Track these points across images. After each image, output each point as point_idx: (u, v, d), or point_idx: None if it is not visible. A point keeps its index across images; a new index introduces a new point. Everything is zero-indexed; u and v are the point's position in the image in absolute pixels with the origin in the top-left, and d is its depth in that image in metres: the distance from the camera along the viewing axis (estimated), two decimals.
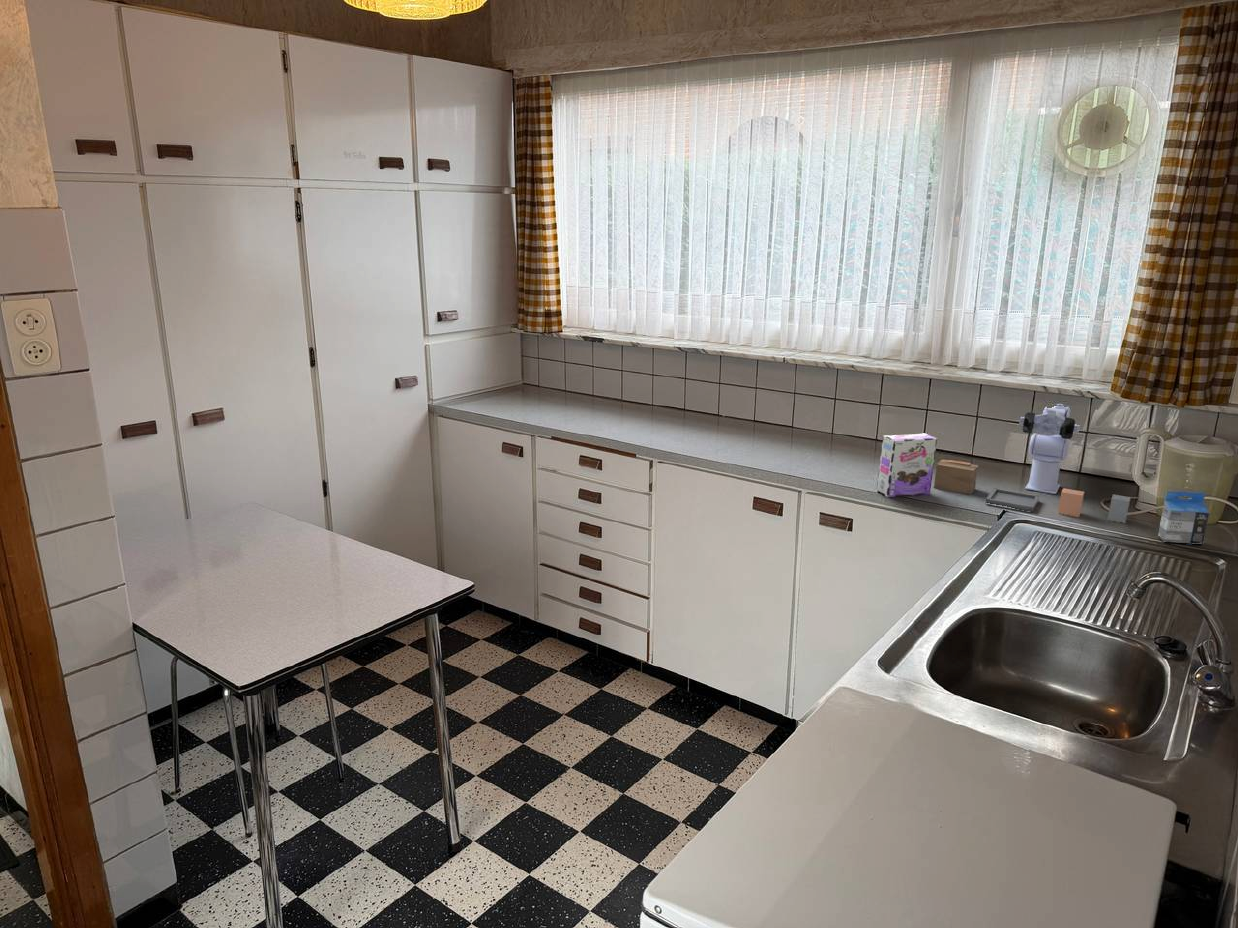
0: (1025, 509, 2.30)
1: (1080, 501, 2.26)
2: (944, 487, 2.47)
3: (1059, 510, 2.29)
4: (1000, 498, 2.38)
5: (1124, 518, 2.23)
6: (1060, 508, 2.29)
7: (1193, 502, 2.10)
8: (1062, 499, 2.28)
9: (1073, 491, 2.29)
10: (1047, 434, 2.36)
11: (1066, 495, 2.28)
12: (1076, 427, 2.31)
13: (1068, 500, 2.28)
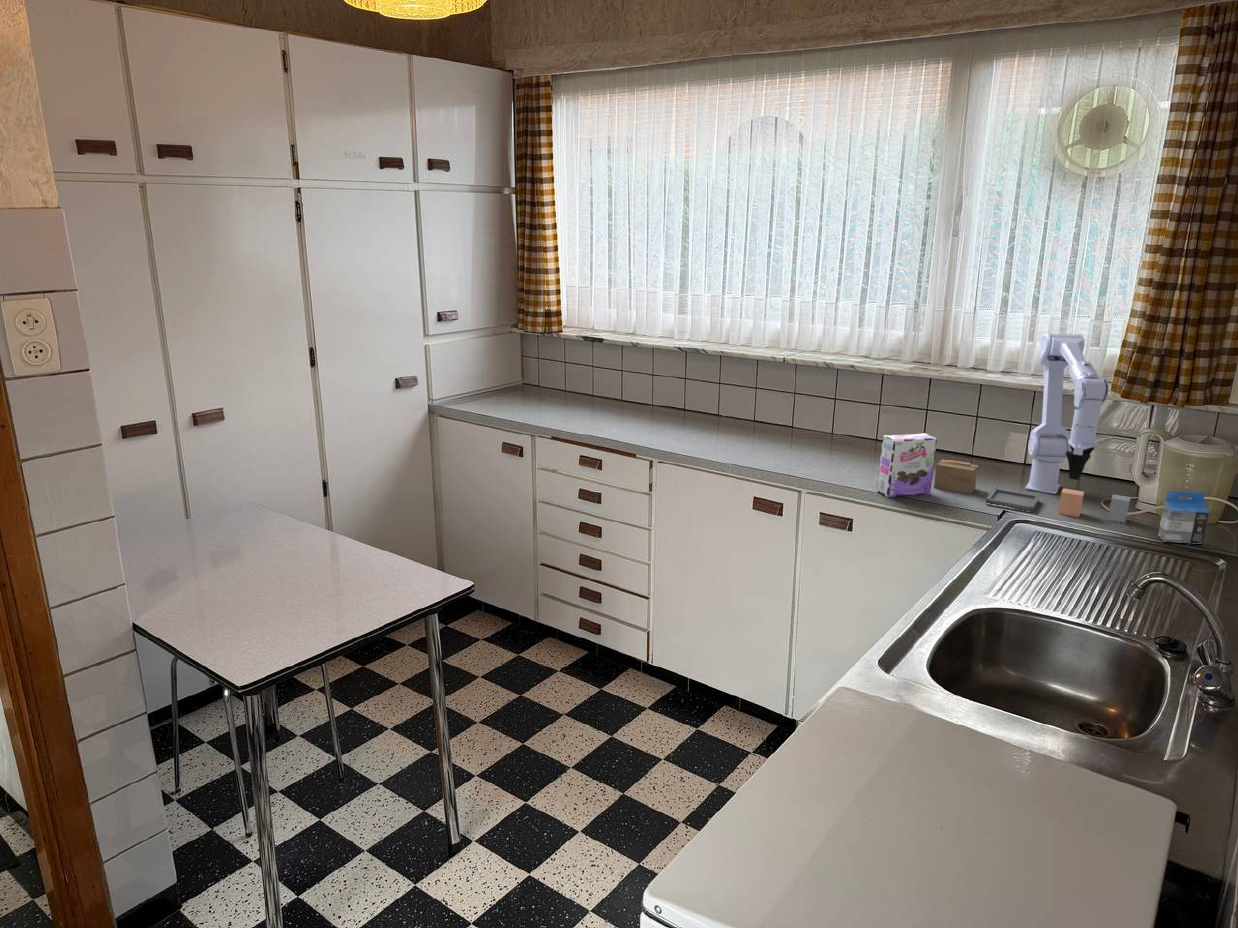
0: (1025, 509, 2.30)
1: (1080, 501, 2.26)
2: (944, 487, 2.47)
3: (1059, 510, 2.29)
4: (1000, 498, 2.38)
5: (1124, 518, 2.23)
6: (1060, 508, 2.29)
7: (1193, 502, 2.10)
8: (1062, 499, 2.28)
9: (1073, 491, 2.29)
10: None
11: (1066, 495, 2.28)
12: None
13: (1068, 500, 2.28)
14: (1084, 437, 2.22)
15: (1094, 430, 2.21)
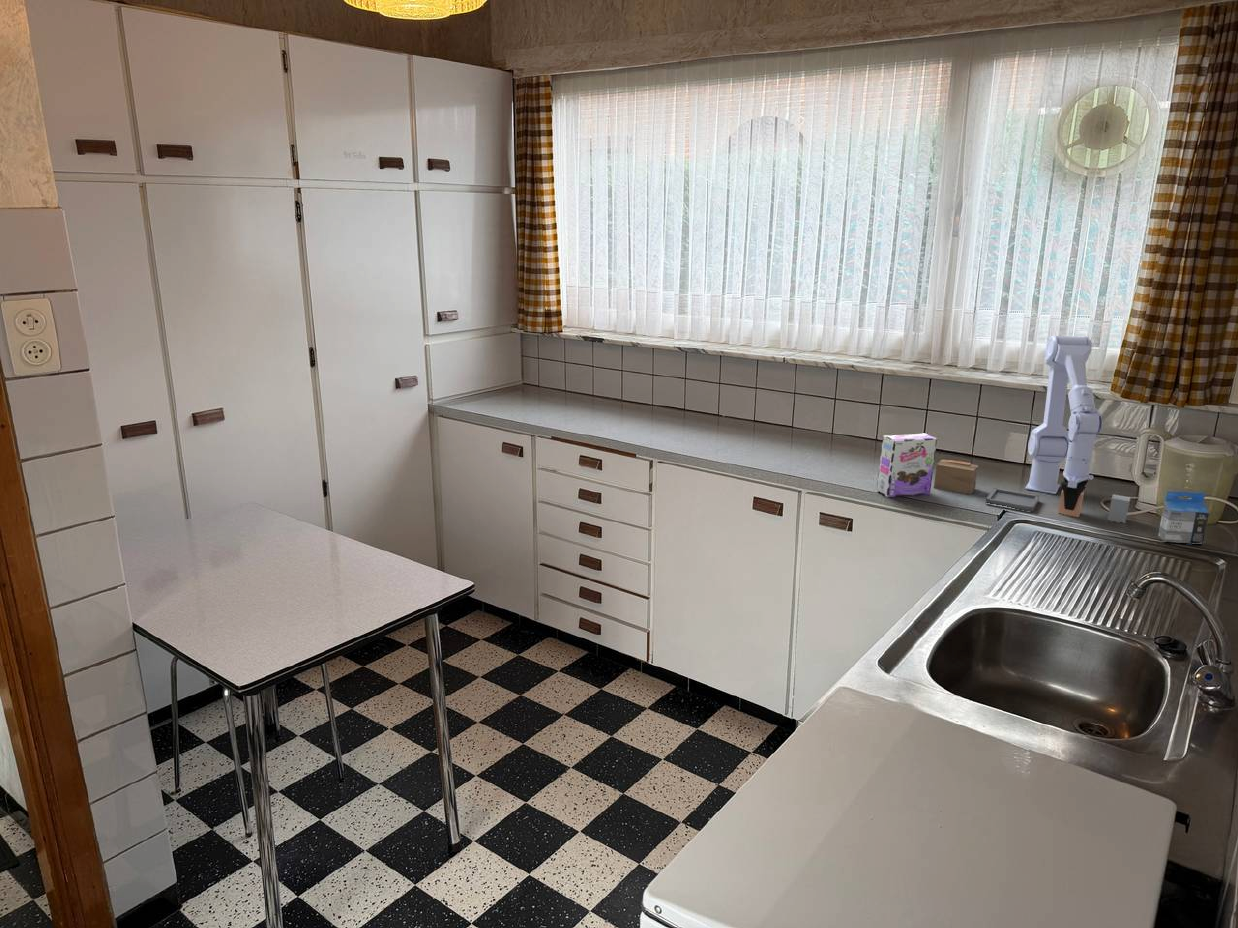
0: (1025, 509, 2.30)
1: (1080, 501, 2.26)
2: (944, 487, 2.47)
3: (1059, 510, 2.29)
4: (1000, 498, 2.38)
5: (1124, 518, 2.23)
6: (1060, 508, 2.29)
7: (1193, 502, 2.10)
8: (1062, 499, 2.28)
9: None
10: None
11: None
12: None
13: None
14: (1078, 470, 2.24)
15: (1088, 463, 2.24)
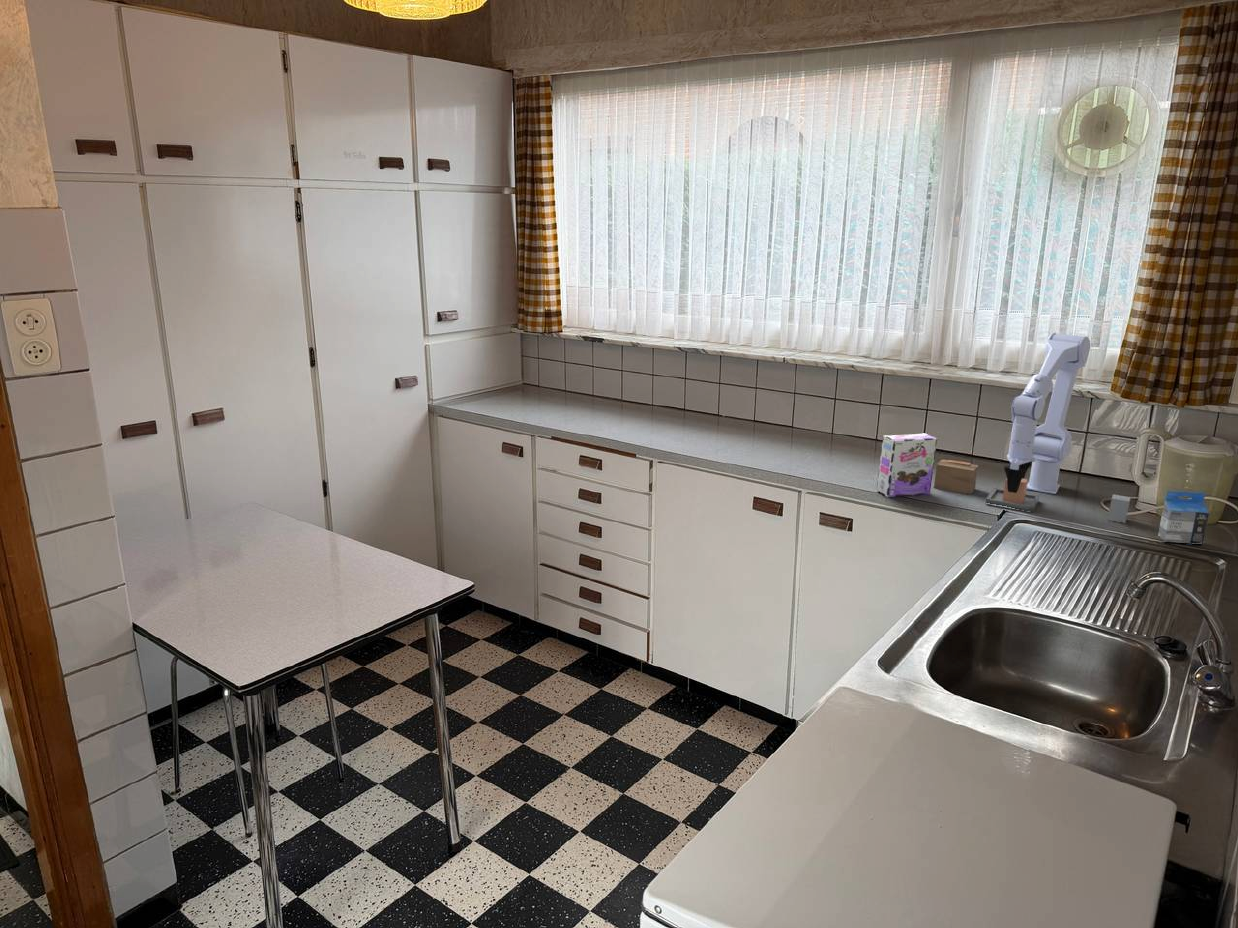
0: (1025, 509, 2.30)
1: (1023, 488, 2.33)
2: (944, 487, 2.47)
3: (1004, 497, 2.36)
4: (1000, 498, 2.38)
5: (1124, 518, 2.23)
6: (1005, 495, 2.36)
7: (1193, 502, 2.10)
8: (1006, 487, 2.35)
9: None
10: None
11: None
12: None
13: None
14: (1021, 452, 2.31)
15: (1030, 446, 2.30)
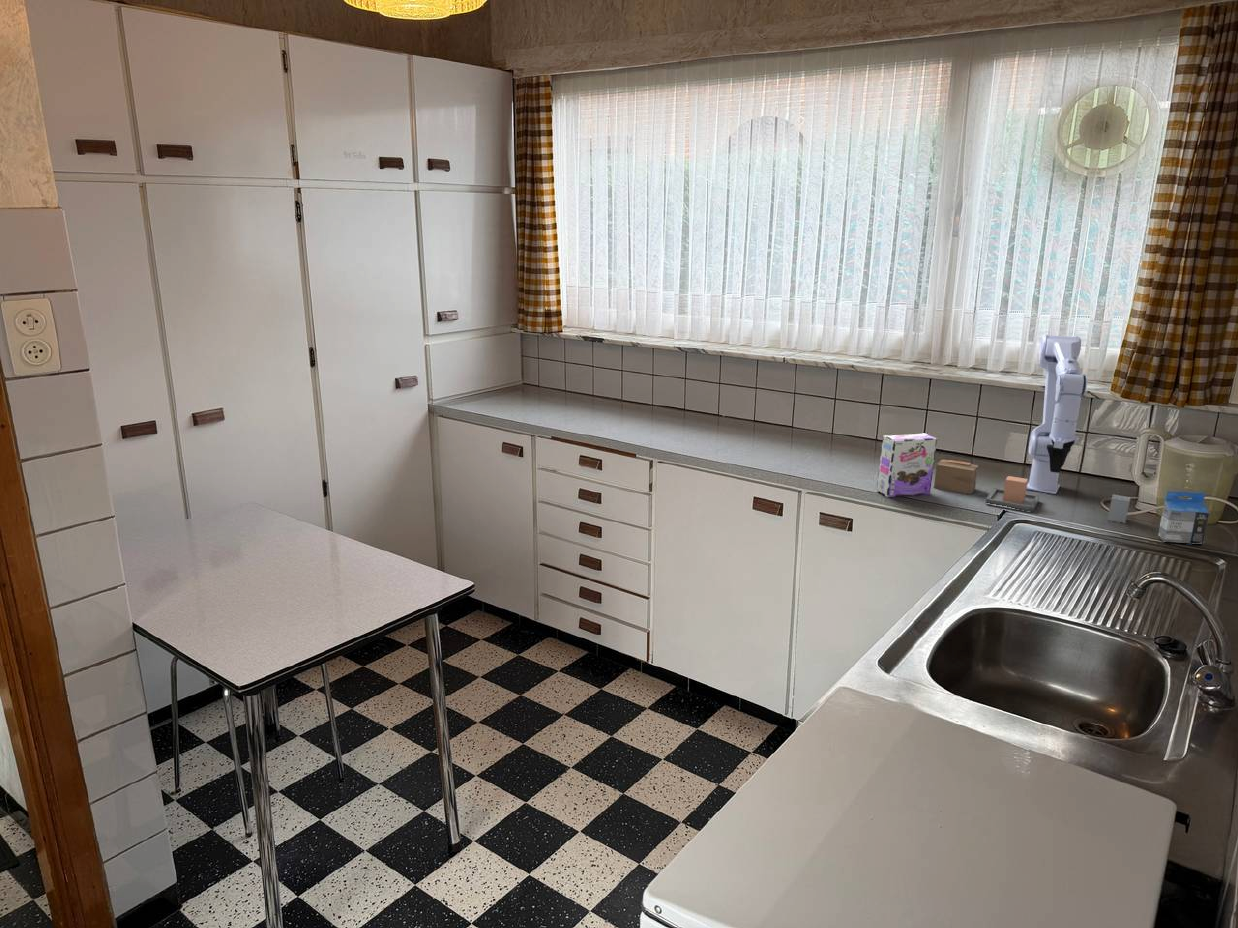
0: (1025, 509, 2.30)
1: (1023, 488, 2.33)
2: (944, 487, 2.47)
3: (1004, 497, 2.36)
4: (1000, 498, 2.38)
5: (1124, 518, 2.23)
6: (1005, 495, 2.36)
7: (1193, 502, 2.10)
8: (1006, 487, 2.35)
9: (1017, 478, 2.36)
10: None
11: (1010, 482, 2.34)
12: None
13: (1012, 487, 2.34)
14: (1064, 431, 2.27)
15: (1074, 424, 2.27)
